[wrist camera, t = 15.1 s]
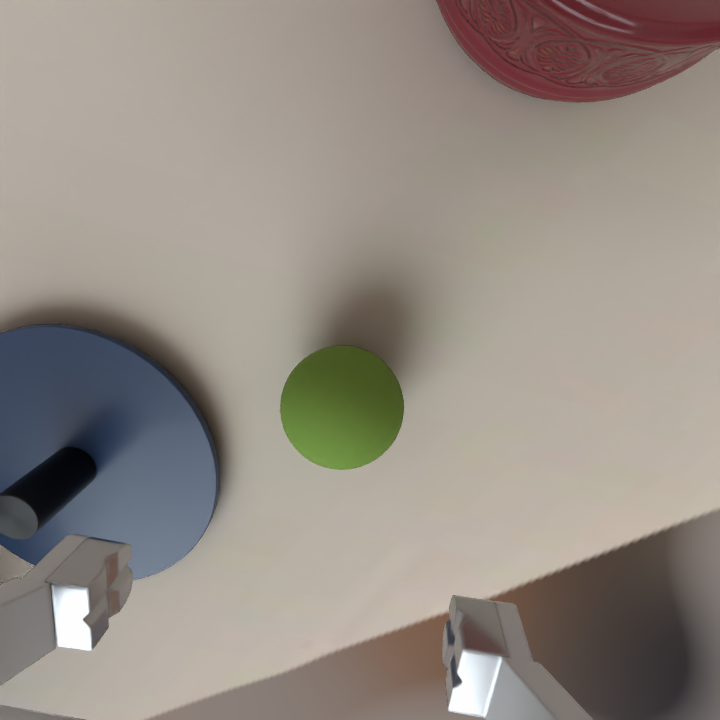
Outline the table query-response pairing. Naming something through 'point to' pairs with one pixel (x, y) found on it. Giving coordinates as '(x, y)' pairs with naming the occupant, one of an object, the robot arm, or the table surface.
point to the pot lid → (99, 448)
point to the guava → (342, 407)
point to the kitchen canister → (583, 43)
